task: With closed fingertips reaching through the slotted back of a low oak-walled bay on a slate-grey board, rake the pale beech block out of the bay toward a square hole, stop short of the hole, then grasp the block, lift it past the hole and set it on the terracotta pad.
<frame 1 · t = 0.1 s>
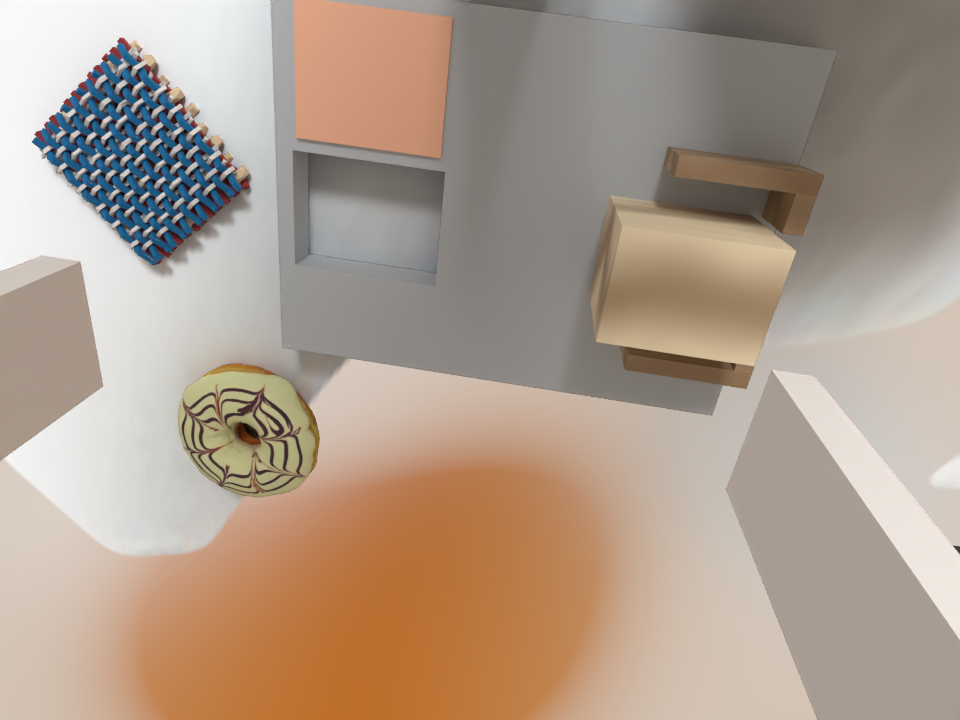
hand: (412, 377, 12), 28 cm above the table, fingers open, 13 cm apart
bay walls: (708, 271, 34), on the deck, point 4 cm above the table
block: (667, 256, 36), point 2 cm above the table, touching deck
woven mat: (152, 156, 40), on the table
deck: (541, 227, 38), on the table
decorated donut: (262, 417, 48), on the table
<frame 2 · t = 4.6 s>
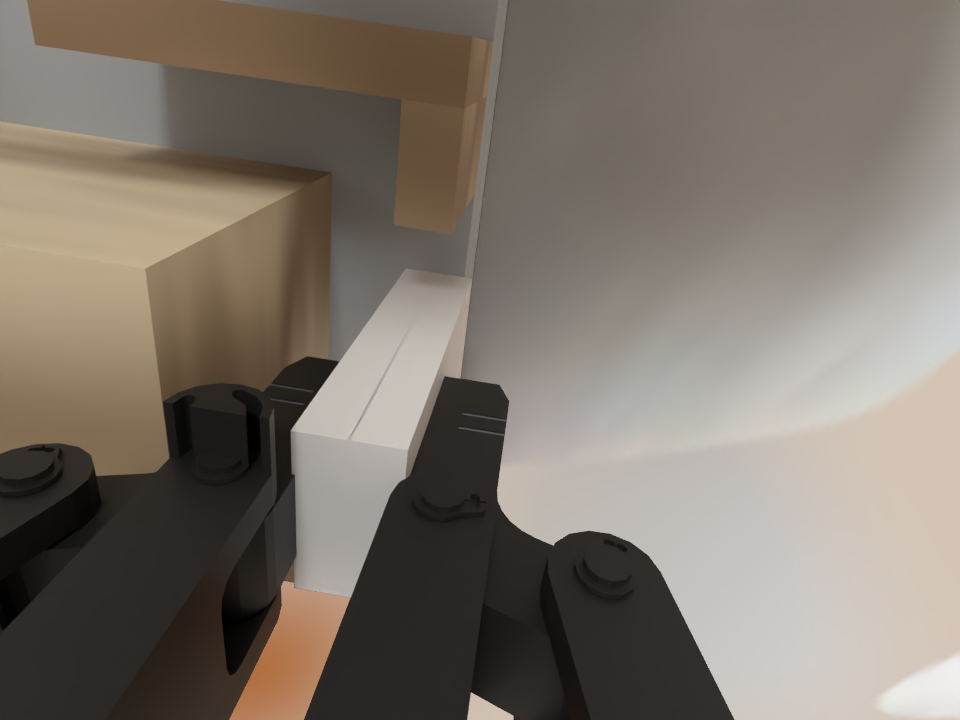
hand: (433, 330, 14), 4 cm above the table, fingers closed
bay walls: (292, 321, 13), on the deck, point 4 cm above the table
block: (173, 271, 15), point 2 cm above the table, touching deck, gripper
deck: (29, 212, 18), on the table
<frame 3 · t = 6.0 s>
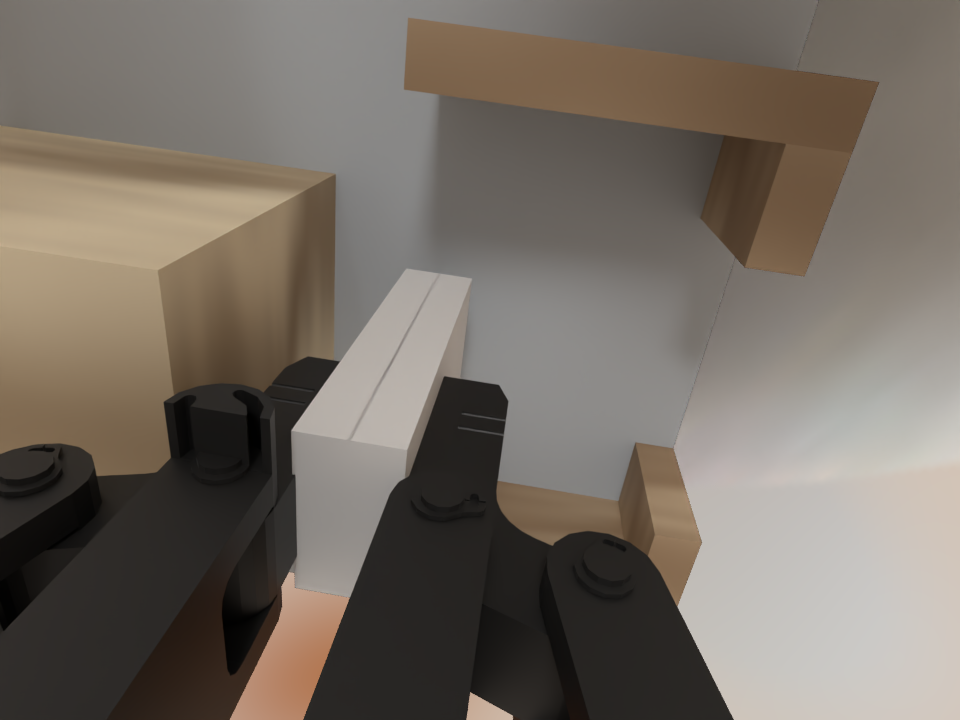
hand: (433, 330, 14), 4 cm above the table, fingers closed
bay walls: (563, 356, 13), on the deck, point 4 cm above the table
block: (179, 273, 15), point 2 cm above the table, touching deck, gripper
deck: (232, 239, 17), on the table
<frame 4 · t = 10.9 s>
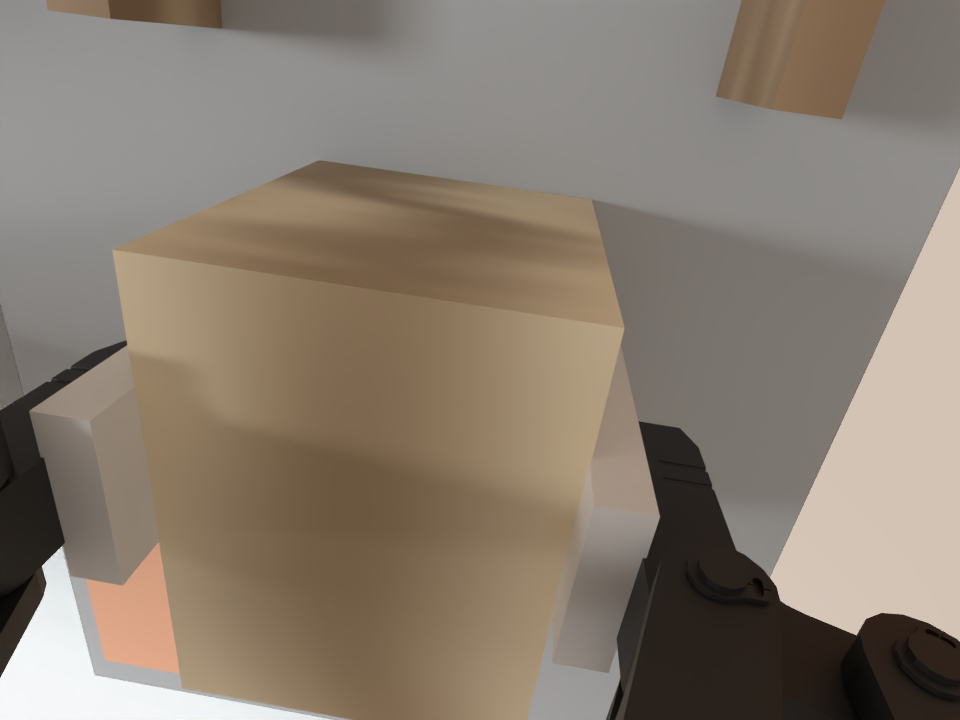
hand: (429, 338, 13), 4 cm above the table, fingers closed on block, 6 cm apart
block: (437, 344, 15), point 3 cm above the table, touching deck, gripper
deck: (453, 297, 17), on the table
when the fingers open (6 cm above the table, at t = 15.2 s): block drops 1 cm, resting on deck.
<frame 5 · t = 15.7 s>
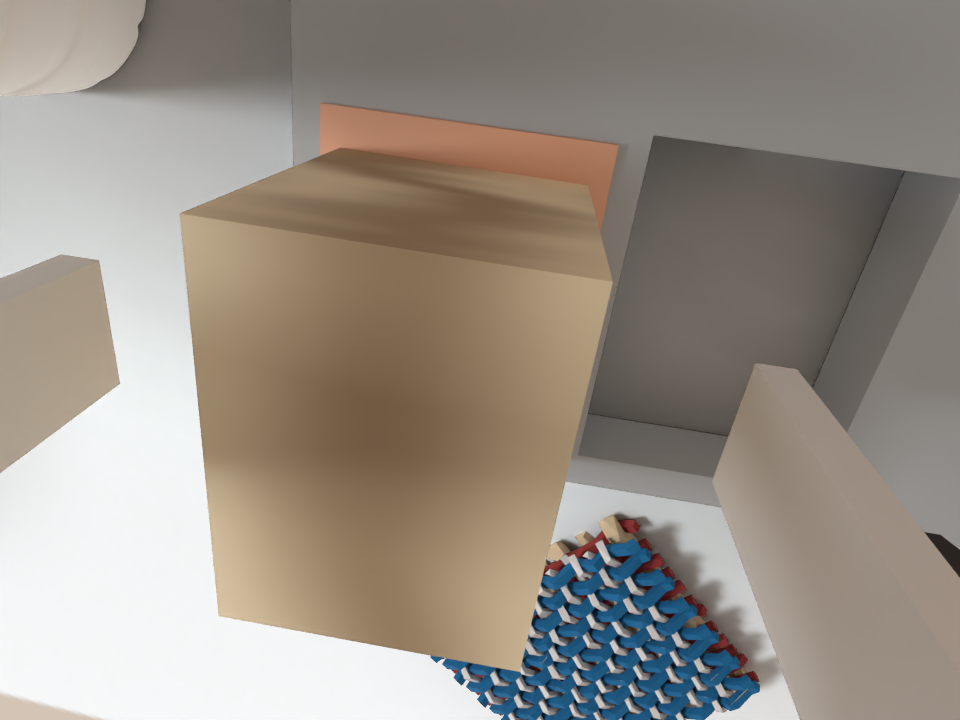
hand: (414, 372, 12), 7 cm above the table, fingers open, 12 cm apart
block: (445, 319, 16), point 3 cm above the table, touching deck
woven mat: (580, 628, 26), on the table
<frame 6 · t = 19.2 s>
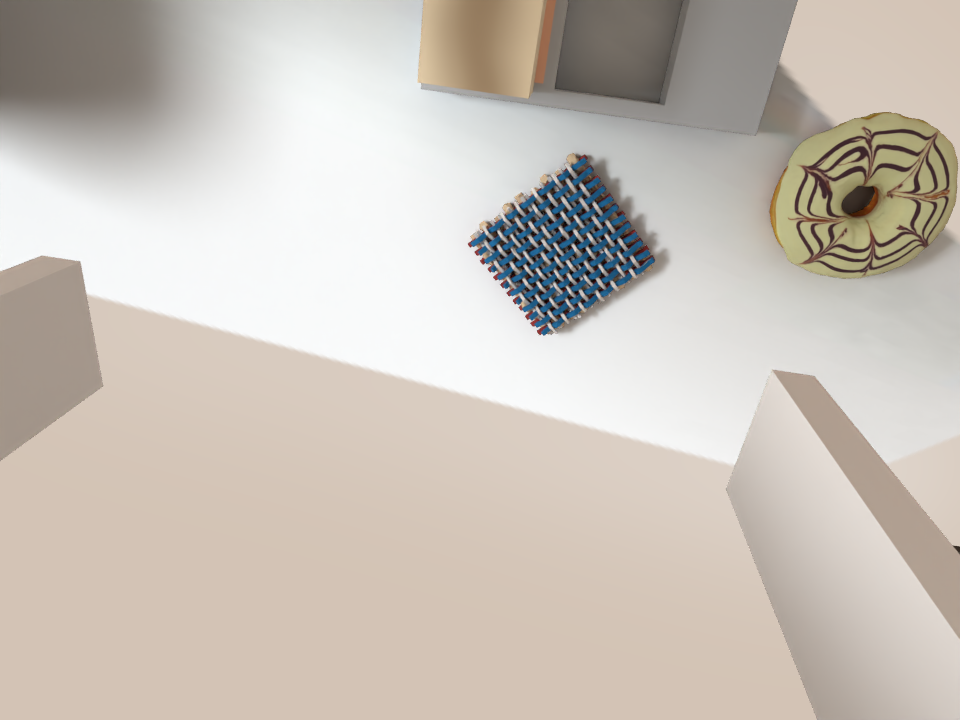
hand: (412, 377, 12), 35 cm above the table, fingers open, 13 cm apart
block: (494, 13, 37), point 3 cm above the table, touching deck
woven mat: (559, 246, 46), on the table
decorated donut: (845, 192, 42), on the table
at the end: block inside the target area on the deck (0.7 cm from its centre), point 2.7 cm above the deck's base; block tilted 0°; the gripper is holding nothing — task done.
